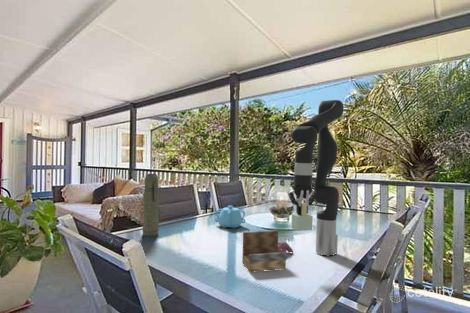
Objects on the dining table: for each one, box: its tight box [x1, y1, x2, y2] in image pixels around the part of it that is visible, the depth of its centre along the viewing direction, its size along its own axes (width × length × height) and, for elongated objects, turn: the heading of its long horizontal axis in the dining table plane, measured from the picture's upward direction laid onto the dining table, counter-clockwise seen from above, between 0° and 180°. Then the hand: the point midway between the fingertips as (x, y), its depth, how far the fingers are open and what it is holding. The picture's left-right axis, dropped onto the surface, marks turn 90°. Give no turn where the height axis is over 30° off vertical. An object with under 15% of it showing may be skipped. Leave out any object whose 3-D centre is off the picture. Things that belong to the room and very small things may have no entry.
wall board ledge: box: [241, 229, 287, 273], centre depth 130 cm, size 16×10×14 cm, turn 105°
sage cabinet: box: [291, 201, 314, 232], centre depth 127 cm, size 7×5×11 cm
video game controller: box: [278, 241, 294, 254], centre depth 146 cm, size 10×5×7 cm, turn 141°
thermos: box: [142, 173, 160, 238], centre depth 174 cm, size 9×12×35 cm
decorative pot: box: [214, 205, 246, 229], centre depth 198 cm, size 16×16×14 cm
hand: (301, 214), depth 127 cm, fingers closed on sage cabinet
